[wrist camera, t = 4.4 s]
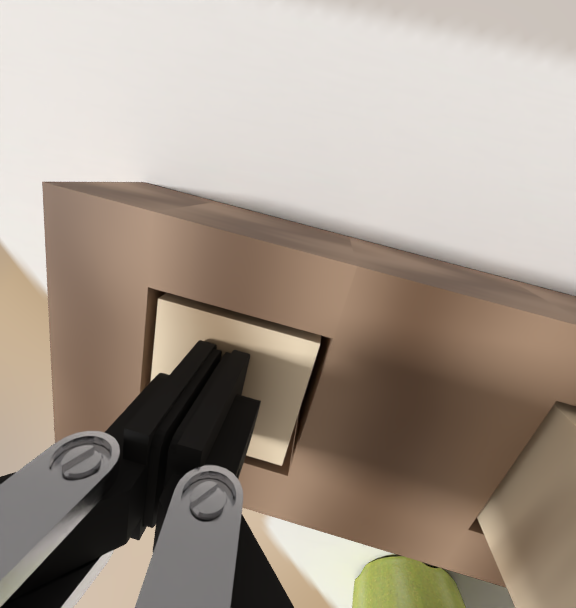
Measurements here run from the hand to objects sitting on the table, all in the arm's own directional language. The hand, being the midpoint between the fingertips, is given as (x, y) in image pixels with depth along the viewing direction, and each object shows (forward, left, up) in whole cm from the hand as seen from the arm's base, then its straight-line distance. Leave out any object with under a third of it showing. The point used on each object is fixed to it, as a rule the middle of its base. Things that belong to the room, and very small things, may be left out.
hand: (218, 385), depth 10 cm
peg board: (-3, -6, -5) cm, 8 cm away
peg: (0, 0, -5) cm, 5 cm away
